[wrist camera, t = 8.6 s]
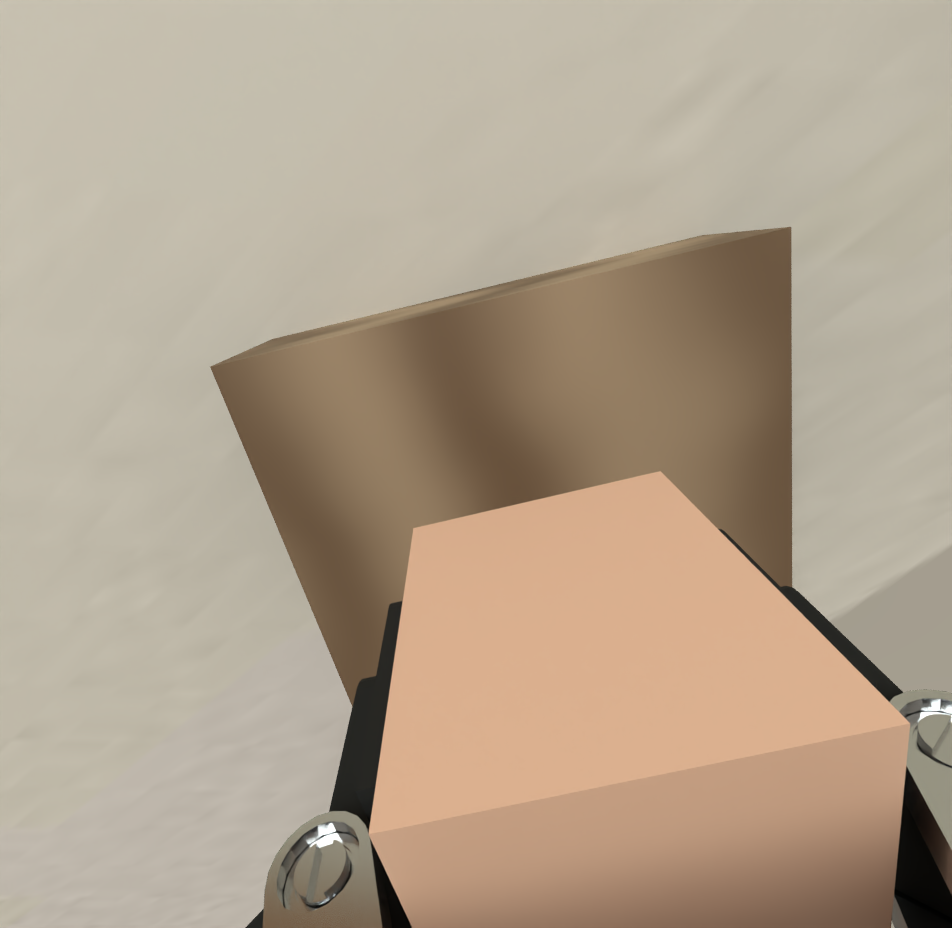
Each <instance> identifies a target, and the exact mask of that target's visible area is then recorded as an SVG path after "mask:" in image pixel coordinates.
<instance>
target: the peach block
mask: <svg viewBox="0 0 952 928" xmlns="http://www.w3.org/2000/svg"><path fill="white" fill-rule="evenodd" d="M909 732H910V723H909V722H908V721H907V720H906V719H905V718H904V717H903V716H902V714H901V713H900V712H899V711H898V710H897V709H896V708H895V707H894V706H893V705H892V704H891V703H890V702H889V701H888V700H887V699H886V698H885V697H884V696H883V695H882V694H881V693H880V692H879V691H878V690H877V689H876V688H875V687H874V686H873V685H872V684H871V683H870V682H869V681H868V680H867V679H866V678H865V677H864V676H863V675H862V674H861V673H860V672H859V671H858V670H857V669H856V668H855V667H854V666H853V665H852V664H851V663H850V662H849V661H848V660H847V659H846V658H845V657H844V656H843V655H842V654H841V653H840V652H839V651H838V650H837V649H836V648H835V647H834V646H833V645H832V644H831V643H830V642H829V641H828V640H827V639H826V638H825V637H824V636H823V635H822V634H821V633H820V632H819V631H818V630H817V629H816V628H815V627H814V626H813V625H812V624H811V623H810V622H809V621H808V620H807V619H806V618H805V617H804V616H803V615H802V613H801V612H800V611H799V610H798V609H797V608H796V607H795V606H794V605H793V604H792V603H791V602H790V601H789V600H788V599H787V598H786V597H785V596H784V595H783V594H782V593H781V592H780V591H779V590H778V589H777V588H776V587H775V586H774V585H773V584H772V583H771V582H770V581H769V580H768V579H767V578H766V577H765V576H764V575H763V574H762V573H761V572H760V571H759V570H758V569H757V568H756V567H755V566H754V565H753V564H752V563H751V562H750V561H749V560H748V559H747V558H746V557H745V556H744V555H743V554H742V553H741V552H740V551H739V550H738V549H737V548H736V547H735V546H734V545H733V544H732V543H731V542H730V541H729V540H728V539H727V538H726V537H725V536H724V535H723V534H722V533H721V532H720V531H719V530H718V529H717V528H716V527H715V526H714V525H713V524H712V523H711V522H710V521H709V520H708V519H707V518H706V517H705V516H704V515H703V514H702V512H701V511H700V510H699V509H698V508H697V507H696V506H695V505H694V504H693V503H692V502H691V501H690V500H689V499H688V498H687V497H686V496H685V495H684V494H683V493H682V492H681V491H680V490H679V489H678V488H677V487H676V486H675V485H674V484H673V483H672V482H671V481H670V480H669V479H668V478H667V477H666V476H665V475H664V474H663V473H662V472H661V471H659V472H654V473H650V474H646V475H641V476H637V477H633V478H628V479H624V480H620V481H615V482H611V483H607V484H602V485H598V486H594V487H589V488H585V489H581V490H577V491H572V492H568V493H564V494H559V495H555V496H551V497H546V498H542V499H538V500H533V501H529V502H525V503H520V504H516V505H512V506H507V507H503V508H499V509H494V510H490V511H486V512H481V513H477V514H473V515H469V516H464V517H460V518H456V519H451V520H447V521H443V522H438V523H434V524H430V525H425V526H421V527H417V528H413V534H412V541H411V548H410V555H409V562H408V569H407V575H406V582H405V589H404V596H403V603H402V609H401V616H400V623H399V630H398V637H397V644H396V650H395V657H394V664H393V671H392V678H391V684H390V691H389V698H388V705H387V712H386V719H385V725H384V732H383V739H382V746H381V753H380V759H379V766H378V773H377V780H376V787H375V794H374V800H373V807H372V814H371V821H370V828H369V836H370V839H371V841H372V843H373V845H374V847H375V849H376V851H377V854H378V856H379V858H380V860H381V862H382V864H383V866H384V868H385V871H386V873H387V875H388V877H389V879H390V881H391V883H392V886H393V888H394V890H395V892H396V894H397V896H398V898H399V900H400V903H401V905H402V907H403V909H404V911H405V913H406V915H407V918H408V920H409V922H410V924H411V926H412V928H891V921H892V910H893V900H894V889H895V879H896V868H897V858H898V847H899V837H900V826H901V816H902V805H903V795H904V784H905V774H906V763H907V753H908V742H909Z"/></svg>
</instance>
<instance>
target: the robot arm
mask: <svg viewBox="0 0 952 928" xmlns="http://www.w3.org/2000/svg"><path fill="white" fill-rule="evenodd" d="M718 530H719V531H720V532H721V533H722V534H723V535H724V536H725V537H726V538H727V539H728V540H729V541H730V542H731V543H732V544H733V545H734V546H735V547H736V548H737V549H738V550H739V551H740V552H741V553H742V554H743V555H744V556H745V557H746V558H747V559H748V560H749V561H750V562H751V563H752V564H753V565H754V566H755V567H756V568H757V569H758V570H759V571H760V572H761V573H762V574H763V575H764V576H765V577H766V578H767V579H768V580H769V581H770V582H771V583H772V584H773V585H774V586H775V587H776V588H777V589H778V590H779V591H780V592H781V593H782V594H783V595H784V596H785V597H786V598H787V599H788V600H789V601H790V602H791V603H792V604H793V605H794V606H795V607H796V608H797V609H798V610H799V611H800V612H801V613H802V615H803V616H804V617H805V618H806V619H807V620H808V621H809V622H810V623H811V624H812V625H813V626H814V627H815V628H816V629H817V630H818V631H819V632H820V633H821V634H822V635H823V636H824V637H825V638H826V639H827V640H828V641H829V642H830V643H831V644H832V645H833V646H834V647H835V648H836V649H837V650H838V651H839V652H840V653H841V654H842V655H843V656H844V657H845V658H846V659H847V660H848V661H849V662H850V663H851V664H852V665H853V666H854V667H855V668H856V669H857V670H858V671H859V672H860V673H861V674H862V675H863V676H864V677H865V678H866V679H867V680H868V681H869V682H870V683H871V684H872V685H873V686H874V687H875V688H876V689H877V690H878V691H879V692H880V693H881V694H882V695H883V696H884V697H885V698H886V699H887V700H888V701H889V702H890V703H891V704H892V705H893V706H894V707H895V708H896V709H897V710H898V711H899V712H900V713H901V714H902V716H903V717H904V718H905V719H906V720H907V721H908V722H909V723H910V732H909V742H908V753H907V763H906V774H905V784H904V795H903V805H902V816H901V826H900V837H899V847H898V858H897V868H896V879H895V889H894V900H893V910H892V922H893V924H894V927H895V928H952V693H949V692H946V691H936V690H927V689H924V690H915V691H914V690H913V691H907V692H904V693H903V692H902V691H901V690H900V689H899V688H898V687H897V686H896V685H895V684H894V683H893V682H892V681H891V680H890V679H889V678H888V677H887V676H886V675H885V674H883V673H882V672H881V671H880V670H879V669H878V668H877V667H876V666H875V665H874V664H873V663H872V662H871V661H870V660H869V659H868V658H867V657H866V656H865V655H864V654H863V653H861V651H859V650H858V649H857V648H856V647H855V646H854V645H853V644H852V643H851V642H850V641H849V640H848V639H847V638H846V637H845V636H844V635H843V634H842V633H841V632H840V631H839V630H838V629H837V628H835V627H834V626H833V625H832V624H831V623H830V622H829V621H828V620H827V619H826V618H825V617H824V616H823V615H822V614H821V613H820V612H819V611H818V610H817V609H816V608H815V607H814V606H812V605H811V604H810V603H809V602H808V601H807V600H806V599H805V598H804V597H803V596H802V595H801V594H800V593H799V592H798V591H796V590H795V589H794V588H792V587H789V586H783V587H780V586H779V585H778V584H777V583H776V582H775V581H774V580H773V579H772V578H771V577H770V576H769V575H768V574H767V573H766V572H765V571H764V570H763V569H762V568H761V567H760V566H759V565H758V564H757V563H756V562H755V561H754V560H753V559H752V558H751V557H750V556H749V555H748V554H747V553H746V552H745V551H744V550H743V549H742V548H741V547H740V546H739V545H738V544H737V543H736V542H735V541H734V540H733V539H732V538H731V537H730V536H729V535H728V534H727V533H726V532H725V531H723V530H722V529H718ZM402 603H403V601H399V602H395V603H391V604H390V605H389V608H388V613H387V619H386V624H385V630H384V635H383V641H382V646H381V652H380V657H379V663H378V668H377V674H376V676H373V677H369V678H364V679H361V681H360V682H359V683H358V686H357V689H356V694H355V698H354V703H353V707H352V712H351V716H350V721H349V725H348V730H347V734H346V739H345V743H344V748H343V752H342V757H341V761H340V766H339V770H338V775H337V779H336V784H335V788H334V792H333V797H332V801H331V806H330V810H329V812H328V813H325V814H322V815H319V816H316V817H314V818H313V819H311V820H310V821H308V822H306V823H305V824H303V825H302V826H301V827H299V828H298V829H297V830H296V831H295V832H294V833H293V834H292V835H291V836H290V837H289V838H288V839H287V840H286V842H285V843H284V845H283V846H282V847H281V849H280V850H279V851H278V853H277V854H276V856H275V858H274V861H273V863H272V865H271V867H270V869H269V872H268V876H267V881H266V886H265V894H264V909H263V910H262V911H261V912H260V913H259V914H258V915H257V916H256V917H255V918H254V919H253V920H252V922H251V923H250V924H249V925H248V926H247V927H246V928H412V926H411V924H410V922H409V920H408V918H407V915H406V913H405V911H404V909H403V907H402V905H401V903H400V900H399V898H398V896H397V894H396V892H395V890H394V888H393V886H392V883H391V881H390V879H389V877H388V875H387V873H386V871H385V868H384V866H383V864H382V862H381V860H380V858H379V856H378V854H377V851H376V849H375V847H374V845H373V843H372V841H371V839H370V836H369V828H370V821H371V814H372V807H373V800H374V794H375V787H376V780H377V773H378V766H379V759H380V753H381V746H382V739H383V732H384V725H385V719H386V712H387V705H388V698H389V691H390V684H391V678H392V671H393V664H394V657H395V650H396V644H397V637H398V630H399V623H400V616H401V609H402Z"/></svg>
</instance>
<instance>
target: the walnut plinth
mask: <svg viewBox="0 0 952 928" xmlns="http://www.w3.org/2000/svg"><path fill="white" fill-rule="evenodd" d="M211 370H212V372H213V374H214V377H215V379H216V382H217V384H218V386H219V389H220V391H221V394H222V396H223V398H224V401H225V403H226V406H227V408H228V410H229V413H230V415H231V417H232V420H233V422H234V425H235V427H236V429H237V432H238V434H239V437H240V439H241V441H242V444H243V446H244V449H245V451H246V453H247V456H248V458H249V461H250V463H251V465H252V468H253V470H254V472H255V475H256V477H257V480H258V482H259V484H260V487H261V489H262V492H263V494H264V496H265V499H266V501H267V504H268V506H269V508H270V511H271V513H272V515H273V518H274V520H275V523H276V525H277V527H278V530H279V532H280V535H281V537H282V539H283V542H284V544H285V547H286V549H287V551H288V554H289V556H290V559H291V561H292V563H293V566H294V568H295V570H296V573H297V575H298V578H299V580H300V582H301V585H302V587H303V590H304V592H305V594H306V597H307V599H308V602H309V604H310V606H311V609H312V611H313V613H314V616H315V618H316V621H317V623H318V625H319V628H320V630H321V633H322V635H323V637H324V640H325V642H326V645H327V647H328V649H329V652H330V654H331V657H332V659H333V661H334V664H335V666H336V668H337V671H338V673H339V676H340V678H341V680H342V683H343V685H344V688H345V690H346V692H347V695H348V697H349V700H350V702H351V704H352V707H353V703H354V698H355V694H356V689H357V686H358V683H359V682H360V681H361V679H364V678H369V677H373V676H376V674H377V668H378V663H379V657H380V652H381V646H382V641H383V635H384V630H385V624H386V619H387V613H388V608H389V605H390V604H391V603H395V602H399V601H403V596H404V589H405V582H406V575H407V569H408V562H409V555H410V548H411V541H412V534H413V528H417V527H421V526H425V525H430V524H434V523H438V522H443V521H447V520H451V519H456V518H460V517H464V516H469V515H473V514H477V513H481V512H486V511H490V510H494V509H499V508H503V507H507V506H512V505H516V504H520V503H525V502H529V501H533V500H538V499H542V498H546V497H551V496H555V495H559V494H564V493H568V492H572V491H577V490H581V489H585V488H589V487H594V486H598V485H602V484H607V483H611V482H615V481H620V480H624V479H628V478H633V477H637V476H641V475H646V474H650V473H654V472H659V471H661V472H662V473H663V474H664V475H665V476H666V477H667V478H668V479H669V480H670V481H671V482H672V483H673V484H674V485H675V486H676V487H677V488H678V489H679V490H680V491H681V492H682V493H683V494H684V495H685V496H686V497H687V498H688V499H689V500H690V501H691V502H692V503H693V504H694V505H695V506H696V507H697V508H698V509H699V510H700V511H701V512H702V514H703V515H704V516H705V517H706V518H707V519H708V520H709V521H710V522H711V523H712V524H713V525H714V526H715V527H716V528H717V529H722V530H723V531H725V532H726V533H727V534H728V535H729V536H730V537H731V538H732V539H733V540H734V541H735V542H736V543H737V544H738V545H739V546H740V547H741V548H742V549H743V550H744V551H745V552H746V553H747V554H748V555H749V556H750V557H751V558H752V559H753V560H754V561H755V562H756V563H757V564H758V565H759V566H760V567H761V568H762V569H763V570H764V571H765V572H766V573H767V574H768V575H769V576H770V577H771V578H772V579H773V580H774V581H775V582H776V583H777V584H778V585H779V586H780V587H783V586H789V587H792V367H791V227H786V228H775V229H764V230H754V231H743V232H732V233H722V234H711V235H702V236H697V237H693V238H689V239H685V240H681V241H677V242H673V243H668V244H664V245H660V246H656V247H652V248H648V249H644V250H639V251H635V252H631V253H627V254H623V255H619V256H615V257H611V258H606V259H602V260H598V261H594V262H590V263H586V264H582V265H577V266H573V267H569V268H565V269H561V270H557V271H553V272H548V273H544V274H540V275H536V276H532V277H528V278H524V279H520V280H515V281H511V282H507V283H503V284H499V285H495V286H491V287H486V288H482V289H478V290H474V291H470V292H466V293H462V294H457V295H453V296H449V297H445V298H441V299H437V300H433V301H429V302H424V303H420V304H416V305H412V306H408V307H404V308H400V309H395V310H391V311H387V312H383V313H379V314H375V315H371V316H366V317H362V318H358V319H354V320H350V321H346V322H342V323H338V324H333V325H329V326H325V327H321V328H317V329H313V330H309V331H304V332H300V333H296V334H292V335H288V336H284V337H280V338H275V339H272V340H270V341H267V342H265V343H263V344H261V345H258V346H256V347H254V348H252V349H249V350H247V351H245V352H243V353H240V354H238V355H236V356H234V357H231V358H229V359H227V360H225V361H222V362H220V363H218V364H216V365H213V366H211Z"/></svg>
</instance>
